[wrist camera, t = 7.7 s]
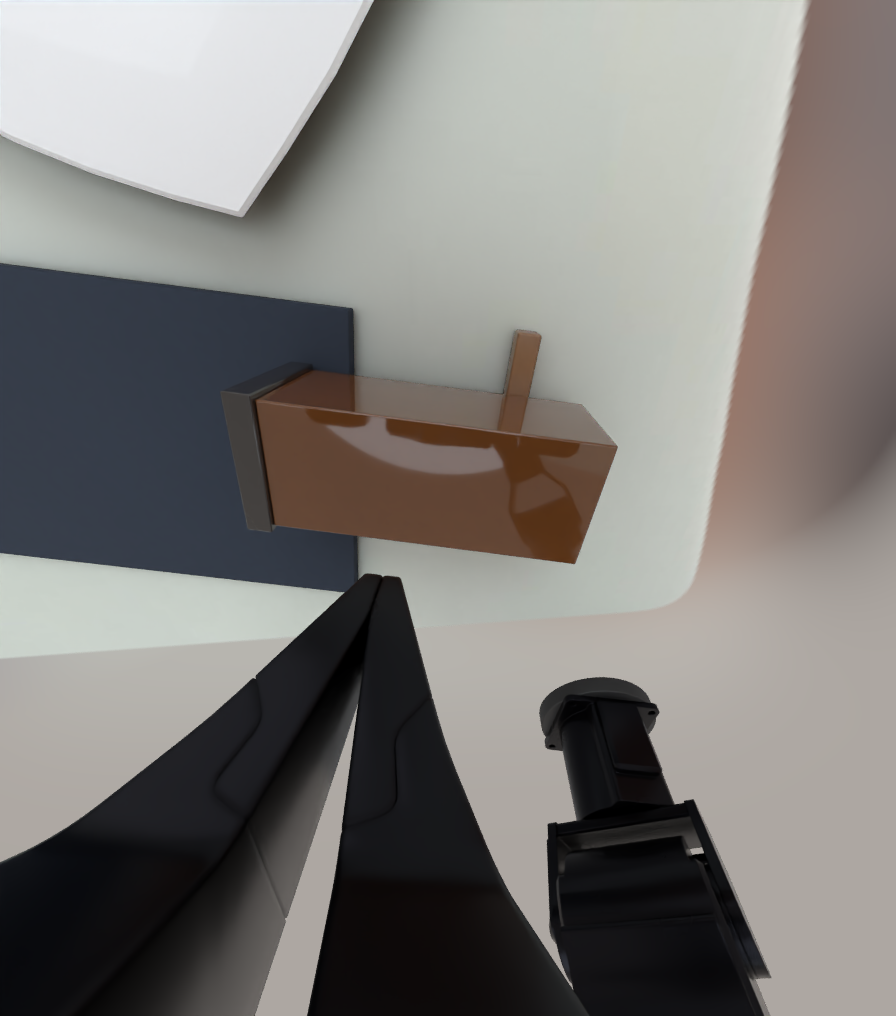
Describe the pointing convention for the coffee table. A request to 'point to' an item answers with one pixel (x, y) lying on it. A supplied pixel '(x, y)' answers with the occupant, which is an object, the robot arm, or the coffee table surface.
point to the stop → (522, 363)
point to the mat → (149, 425)
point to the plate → (171, 87)
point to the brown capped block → (416, 462)
